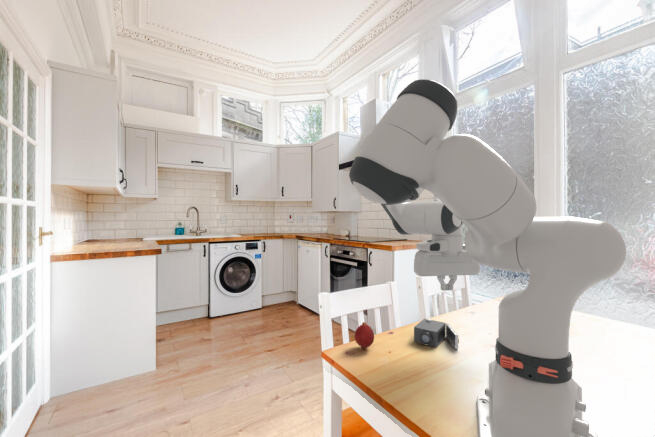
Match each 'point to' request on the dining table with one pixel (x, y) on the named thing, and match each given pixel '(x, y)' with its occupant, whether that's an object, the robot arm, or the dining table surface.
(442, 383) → the dining table surface
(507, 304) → the robot arm
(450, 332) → the side door
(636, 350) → the dining table surface
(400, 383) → the dining table surface
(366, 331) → the onion
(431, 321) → the camera body
